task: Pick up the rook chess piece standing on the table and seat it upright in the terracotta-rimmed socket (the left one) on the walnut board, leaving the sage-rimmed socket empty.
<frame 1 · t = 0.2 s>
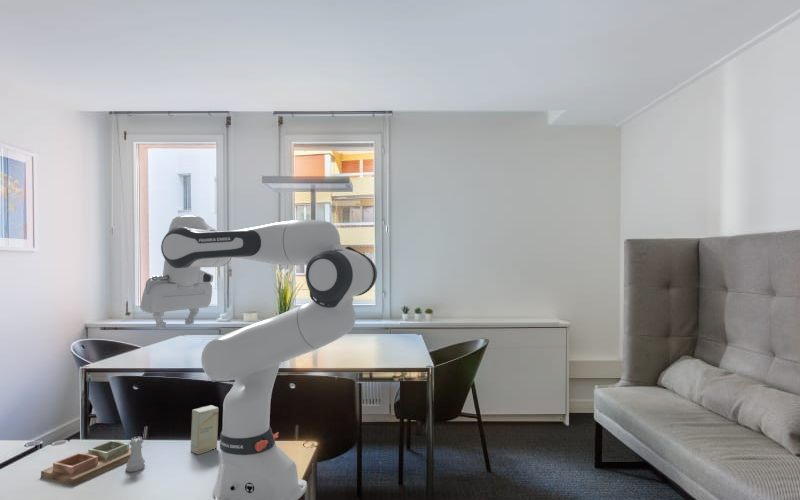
hand: (175, 326, 116), 38 cm above the table, tool pointing down, fingers open, 8 cm apart
board: (92, 465, 117), on the table
rook chess piece: (135, 469, 116), on the table
skincare box: (204, 450, 128), on the table
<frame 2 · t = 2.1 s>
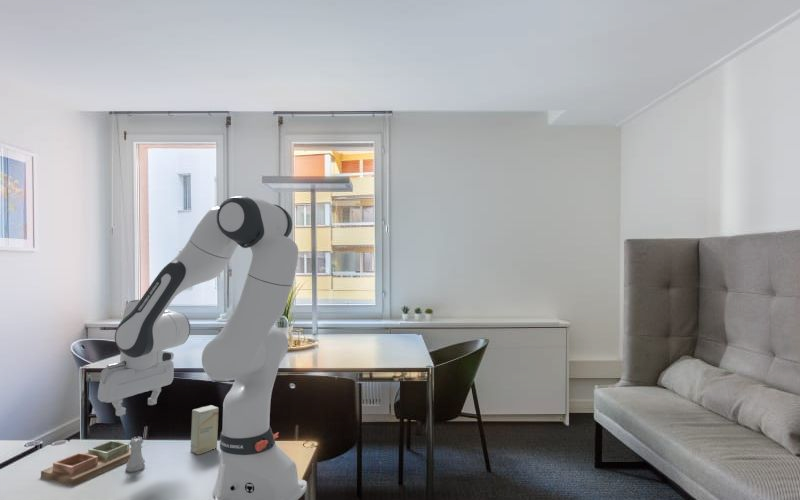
hand: (136, 409, 116), 16 cm above the table, tool pointing down, fingers open, 8 cm apart
nothing on the table moved.
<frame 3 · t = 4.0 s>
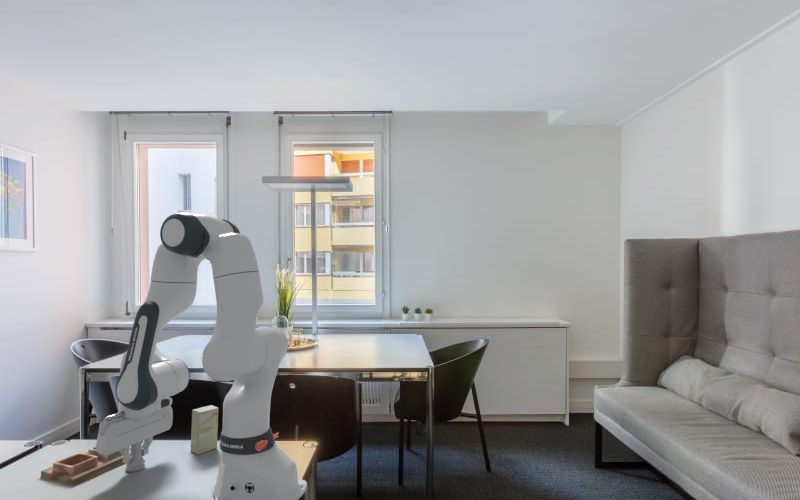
hand: (135, 458, 116), 3 cm above the table, tool pointing down, fingers closed on rook chess piece, 3 cm apart
rook chess piece: (135, 469, 116), on the table, touching gripper
everything else where it was.
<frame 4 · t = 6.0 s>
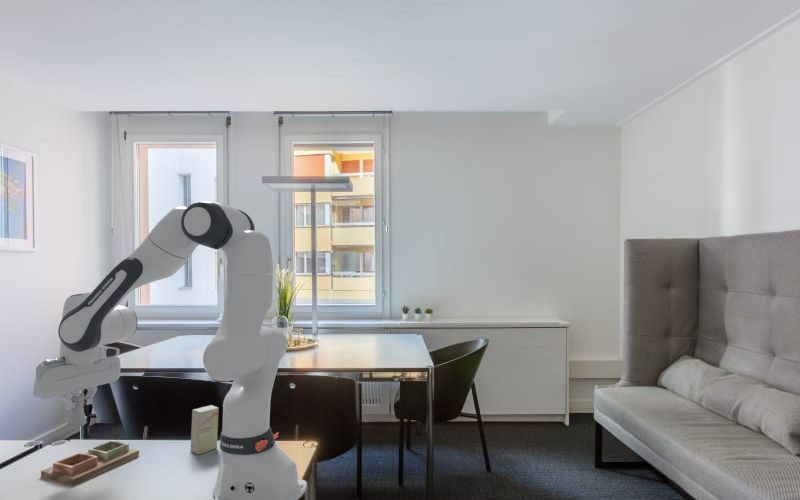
hand: (78, 406, 113), 17 cm above the table, tool pointing down, fingers closed on rook chess piece, 3 cm apart
rook chess piece: (76, 425, 113), point 12 cm above the table, touching gripper
everything else where it was.
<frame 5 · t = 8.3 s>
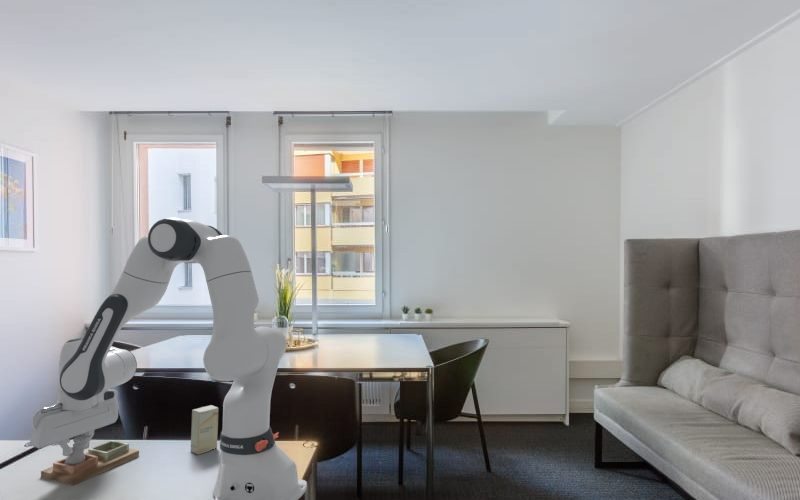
hand: (76, 451, 113), 6 cm above the table, tool pointing down, fingers closed on rook chess piece, 3 cm apart
rook chess piece: (73, 464, 113), point 2 cm above the table, touching board, gripper
everything else where it was.
when the fingers open (5 cm above the table, at t = 8.4 s): rook chess piece stays where it is, resting on board.
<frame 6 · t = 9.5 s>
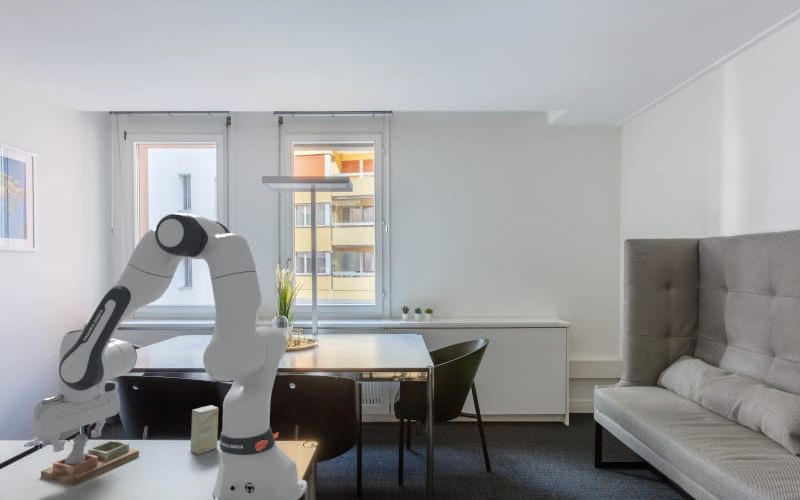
hand: (78, 443, 113), 8 cm above the table, tool pointing down, fingers open, 8 cm apart
rook chess piece: (73, 464, 113), point 2 cm above the table, touching board
everything else where it was.
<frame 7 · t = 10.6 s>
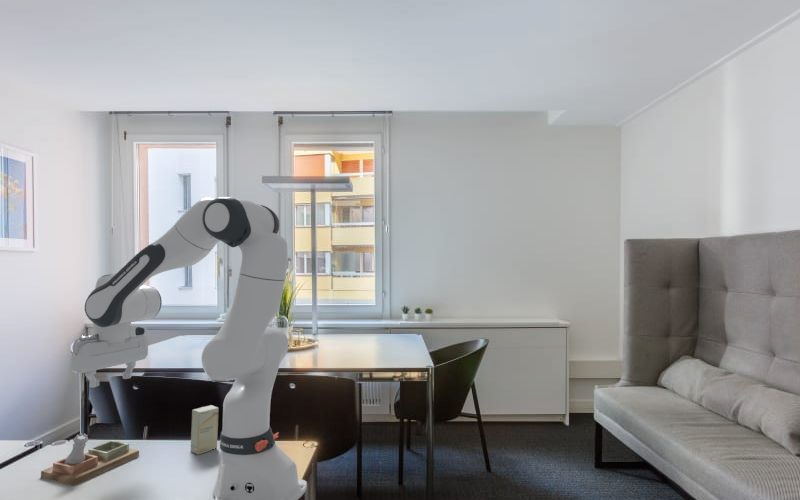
hand: (111, 382, 119), 22 cm above the table, tool pointing down, fingers open, 8 cm apart
nothing on the table moved.
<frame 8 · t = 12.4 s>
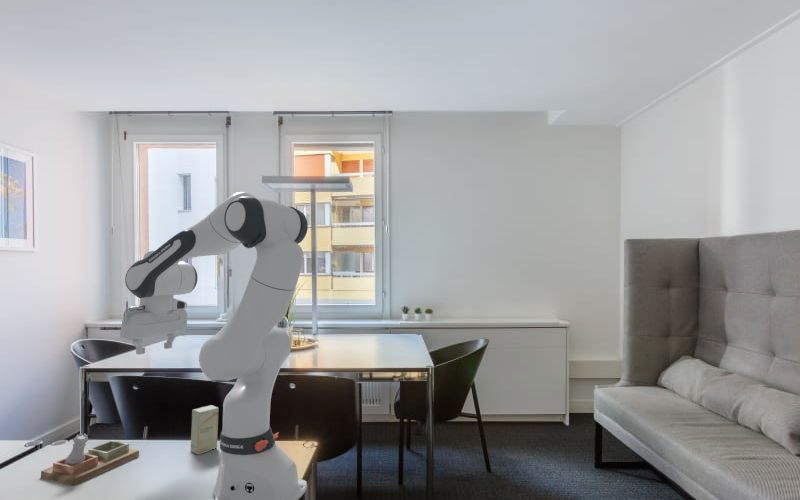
hand: (154, 351, 128), 29 cm above the table, tool pointing down, fingers open, 8 cm apart
nothing on the table moved.
at the end: rook chess piece 0.8 cm from the target spot on the board, point 2.0 cm above the board's base; rook chess piece tilted 19°; the gripper is holding nothing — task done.
